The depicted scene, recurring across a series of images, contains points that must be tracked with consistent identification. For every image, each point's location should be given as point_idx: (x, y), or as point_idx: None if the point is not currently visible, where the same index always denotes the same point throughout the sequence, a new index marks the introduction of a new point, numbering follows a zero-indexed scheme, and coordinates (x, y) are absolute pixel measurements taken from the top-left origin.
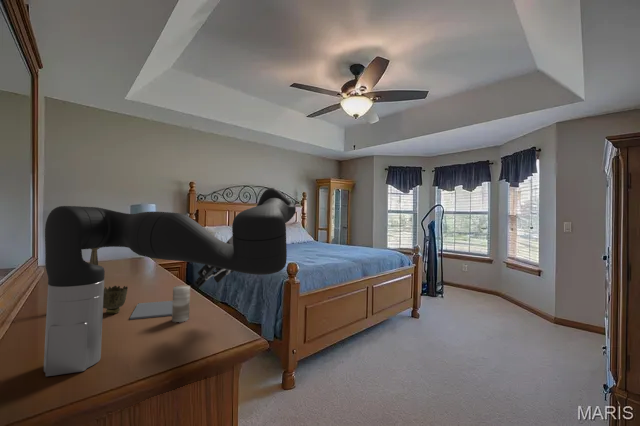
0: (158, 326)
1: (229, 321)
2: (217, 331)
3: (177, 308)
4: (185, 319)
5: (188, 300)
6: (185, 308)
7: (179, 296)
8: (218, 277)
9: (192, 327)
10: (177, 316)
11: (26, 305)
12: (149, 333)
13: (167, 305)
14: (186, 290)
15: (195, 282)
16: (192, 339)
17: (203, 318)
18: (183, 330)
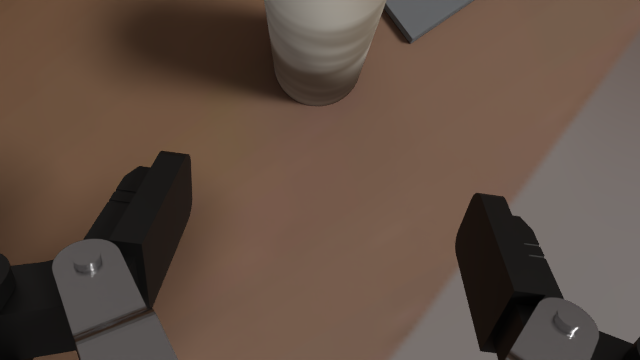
0: (201, 21)
1: (370, 340)
2: (211, 356)
3: (270, 40)
4: (301, 100)
5: (324, 66)
6: (300, 78)
7: (268, 13)
8: (474, 255)
9: (231, 193)
10: (273, 61)
11: None
12: (108, 44)
13: None
14: (302, 28)
15: (126, 181)
16: None
17: (372, 168)
18: None
